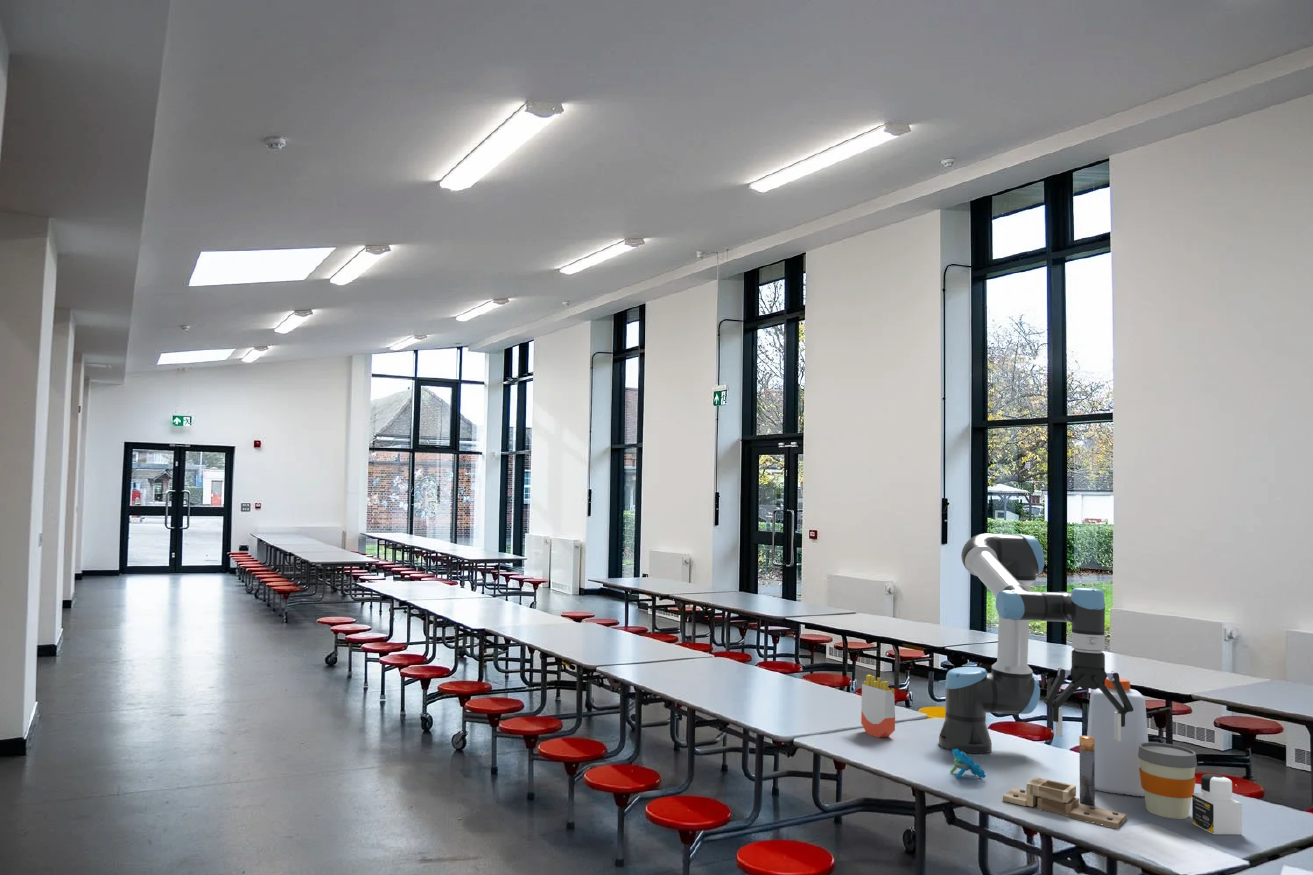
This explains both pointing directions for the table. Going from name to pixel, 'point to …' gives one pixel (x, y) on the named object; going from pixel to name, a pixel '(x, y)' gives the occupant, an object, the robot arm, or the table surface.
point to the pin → (1087, 770)
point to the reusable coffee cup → (1167, 778)
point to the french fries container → (877, 707)
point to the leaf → (1041, 792)
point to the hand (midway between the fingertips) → (1088, 737)
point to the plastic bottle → (1117, 757)
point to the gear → (966, 764)
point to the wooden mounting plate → (1083, 812)
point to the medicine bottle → (1216, 807)
